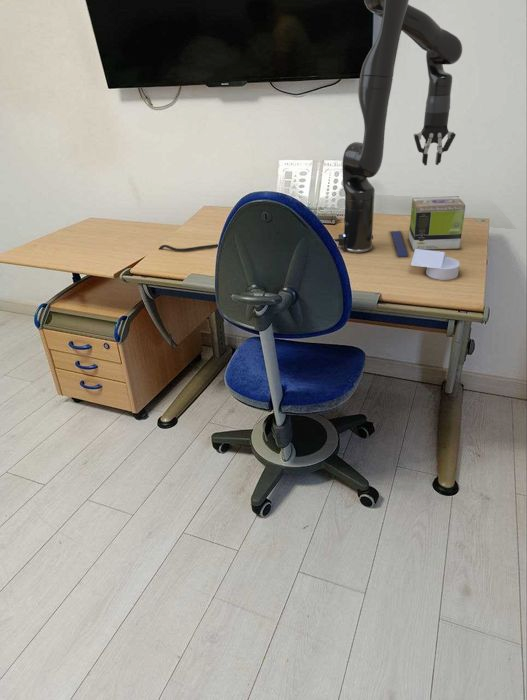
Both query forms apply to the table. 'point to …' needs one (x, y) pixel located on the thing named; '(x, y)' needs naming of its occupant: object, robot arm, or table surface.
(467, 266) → the table surface
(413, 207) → the tea box
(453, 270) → the wedge on round base
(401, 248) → the ruler
